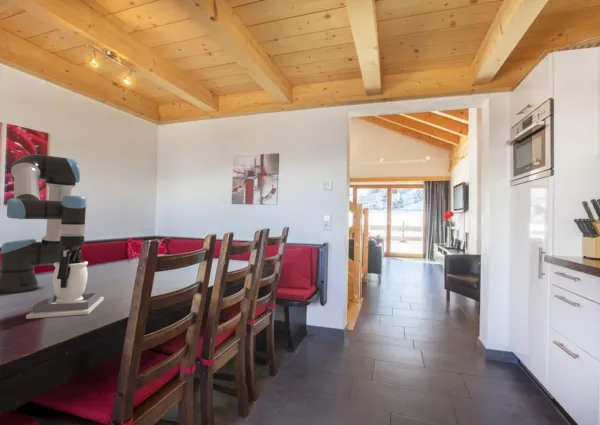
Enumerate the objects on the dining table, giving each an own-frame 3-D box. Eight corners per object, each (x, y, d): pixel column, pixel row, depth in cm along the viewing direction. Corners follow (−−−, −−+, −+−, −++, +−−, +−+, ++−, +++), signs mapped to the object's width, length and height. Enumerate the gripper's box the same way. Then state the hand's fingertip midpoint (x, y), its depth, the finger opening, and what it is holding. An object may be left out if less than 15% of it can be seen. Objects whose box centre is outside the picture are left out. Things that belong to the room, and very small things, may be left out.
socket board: (51, 302, 118) (52, 293, 118) (103, 299, 125) (104, 290, 125) (26, 318, 100) (26, 307, 100) (88, 314, 106) (88, 303, 106)
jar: (45, 305, 106) (47, 264, 106) (61, 298, 116) (63, 260, 116) (78, 304, 109) (80, 264, 109) (91, 297, 119) (93, 260, 119)
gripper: (72, 233, 122) (69, 286, 122) (47, 237, 101) (43, 301, 100) (93, 233, 125) (90, 285, 124) (73, 237, 104) (70, 299, 103)
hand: (69, 292), depth 112 cm, fingers closed on jar, 10 cm apart
